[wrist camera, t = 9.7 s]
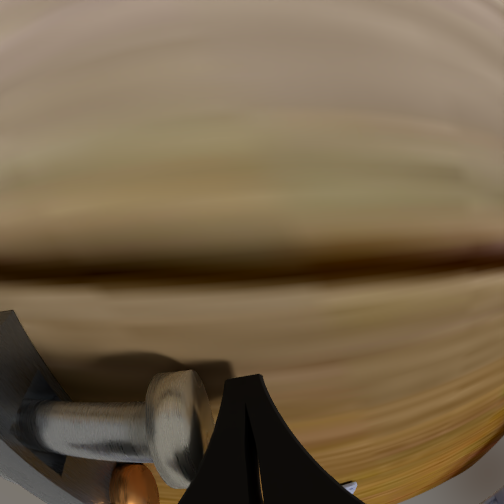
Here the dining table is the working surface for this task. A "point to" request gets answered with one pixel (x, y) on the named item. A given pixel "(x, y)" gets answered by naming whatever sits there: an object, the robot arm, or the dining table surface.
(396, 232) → the dining table surface
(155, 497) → the pin
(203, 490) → the robot arm
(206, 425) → the pin
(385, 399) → the dining table surface
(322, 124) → the dining table surface
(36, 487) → the block
